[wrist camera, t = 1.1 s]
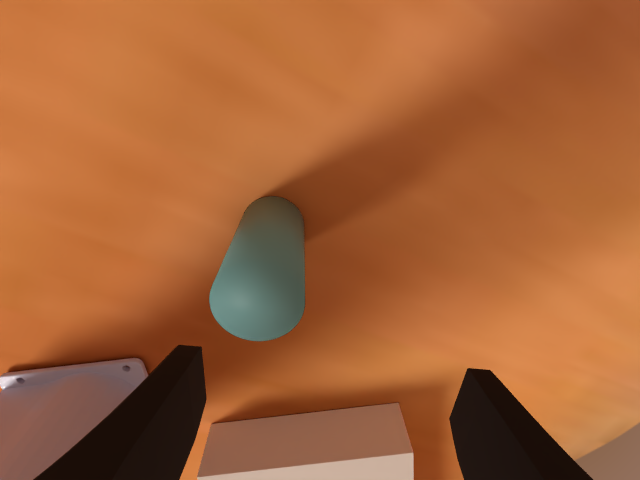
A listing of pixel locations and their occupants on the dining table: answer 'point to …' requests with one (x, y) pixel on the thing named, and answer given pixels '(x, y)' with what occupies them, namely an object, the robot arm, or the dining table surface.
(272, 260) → the dowel
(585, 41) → the dining table surface
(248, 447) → the socket block
